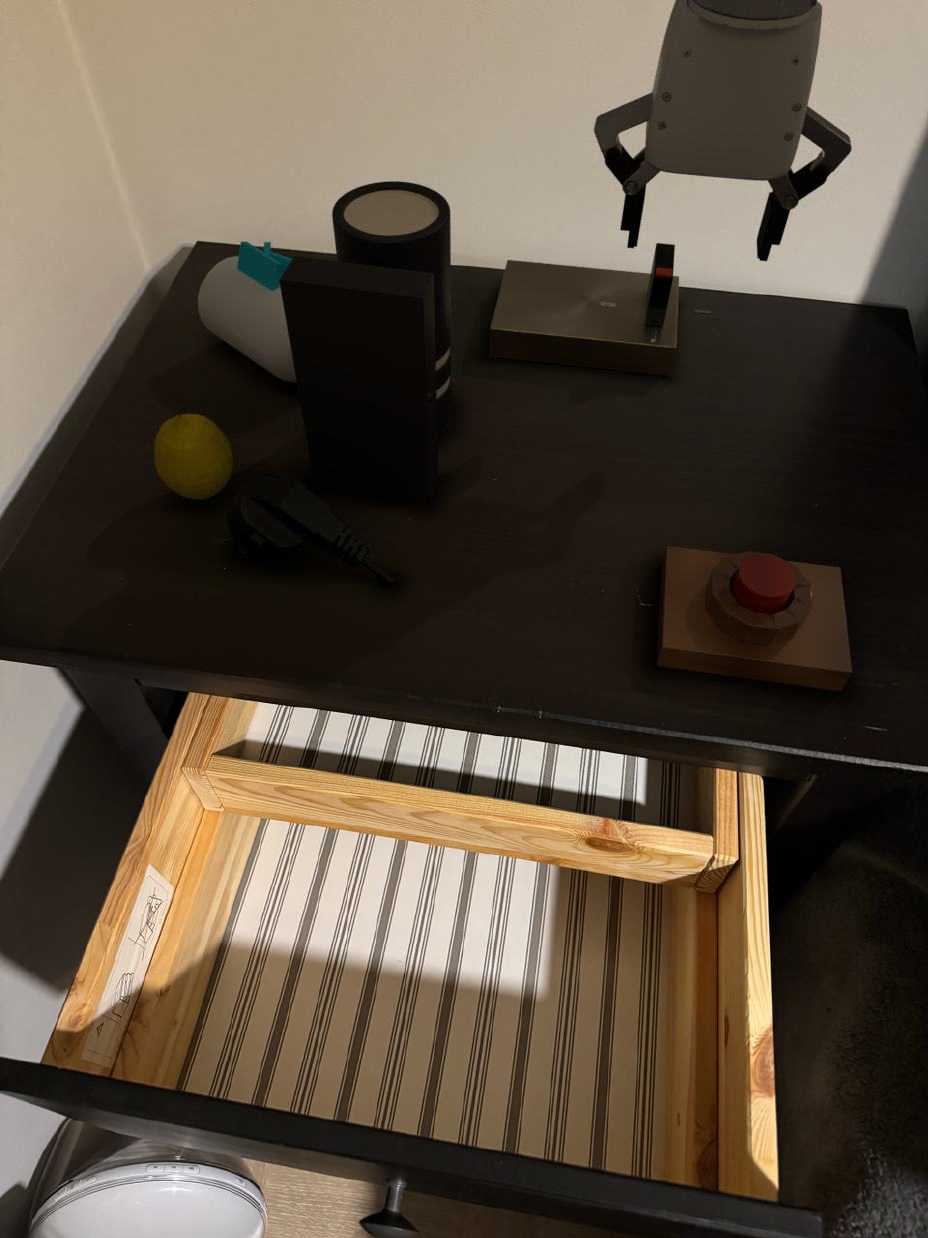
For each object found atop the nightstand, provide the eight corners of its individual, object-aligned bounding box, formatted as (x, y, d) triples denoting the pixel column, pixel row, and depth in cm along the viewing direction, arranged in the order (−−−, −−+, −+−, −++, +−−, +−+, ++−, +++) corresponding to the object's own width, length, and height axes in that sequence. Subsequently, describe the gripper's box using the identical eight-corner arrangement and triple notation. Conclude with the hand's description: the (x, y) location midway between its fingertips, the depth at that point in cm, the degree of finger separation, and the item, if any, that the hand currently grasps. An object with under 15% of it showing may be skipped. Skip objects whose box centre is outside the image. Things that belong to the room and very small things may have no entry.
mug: (300, 289, 69) (205, 231, 74) (280, 399, 74) (193, 338, 79) (404, 287, 78) (313, 235, 83) (380, 385, 83) (295, 331, 88)
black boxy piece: (647, 289, 82) (656, 239, 78) (665, 290, 82) (675, 241, 78) (644, 324, 79) (654, 274, 75) (663, 326, 78) (673, 276, 75)
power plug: (380, 607, 62) (236, 496, 59) (333, 640, 68) (199, 542, 65) (413, 550, 65) (278, 442, 62) (365, 587, 71) (239, 490, 68)
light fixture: (470, 393, 78) (473, 188, 63) (433, 506, 69) (427, 298, 55) (360, 378, 79) (339, 173, 65) (311, 486, 70) (275, 278, 56)
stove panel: (703, 307, 85) (711, 277, 83) (702, 380, 79) (710, 349, 76) (506, 287, 87) (507, 257, 85) (489, 357, 81) (490, 326, 78)
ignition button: (786, 575, 60) (794, 557, 59) (789, 617, 58) (797, 600, 57) (732, 568, 61) (738, 550, 59) (732, 609, 59) (739, 592, 57)
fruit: (245, 514, 69) (224, 432, 62) (171, 527, 68) (141, 446, 61) (237, 465, 72) (216, 383, 66) (166, 477, 71) (138, 395, 65)
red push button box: (830, 587, 65) (849, 549, 61) (841, 691, 59) (862, 656, 56) (661, 565, 66) (671, 527, 63) (656, 666, 60) (667, 630, 57)
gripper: (895, -33, 56) (811, 230, 70) (616, -50, 58) (586, 209, 71) (910, 12, 52) (816, 284, 65) (607, -8, 53) (577, 260, 67)
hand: (696, 244), depth 68 cm, fingers open, 9 cm apart
